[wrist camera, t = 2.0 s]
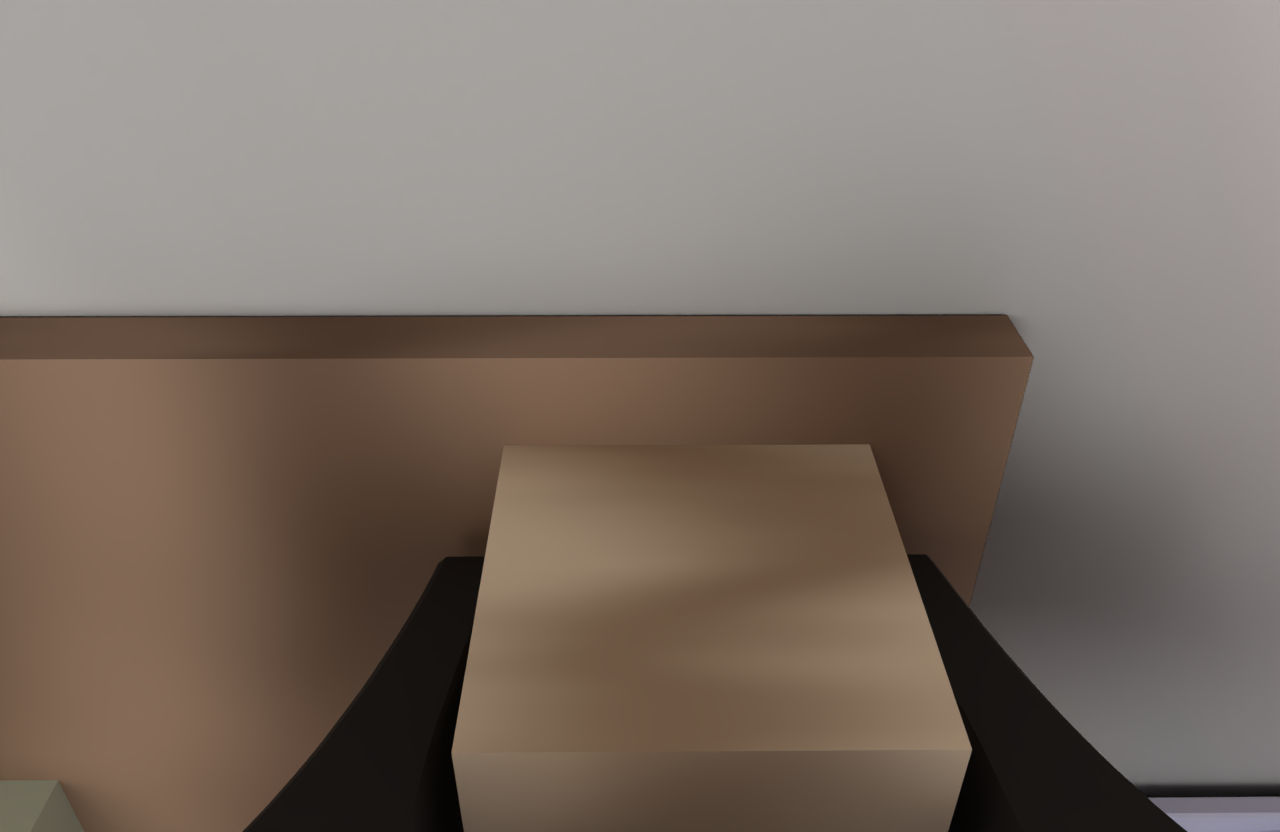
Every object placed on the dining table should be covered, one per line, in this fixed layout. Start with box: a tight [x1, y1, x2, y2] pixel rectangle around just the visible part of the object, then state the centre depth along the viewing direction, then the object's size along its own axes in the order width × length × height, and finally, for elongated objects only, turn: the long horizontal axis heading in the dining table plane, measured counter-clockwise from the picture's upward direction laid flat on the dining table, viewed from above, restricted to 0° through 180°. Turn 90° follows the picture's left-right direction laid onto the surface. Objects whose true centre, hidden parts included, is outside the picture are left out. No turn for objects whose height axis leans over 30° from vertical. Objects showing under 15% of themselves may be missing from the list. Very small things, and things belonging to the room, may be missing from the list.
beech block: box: [452, 444, 972, 832], centre depth 12 cm, size 4×4×4 cm
